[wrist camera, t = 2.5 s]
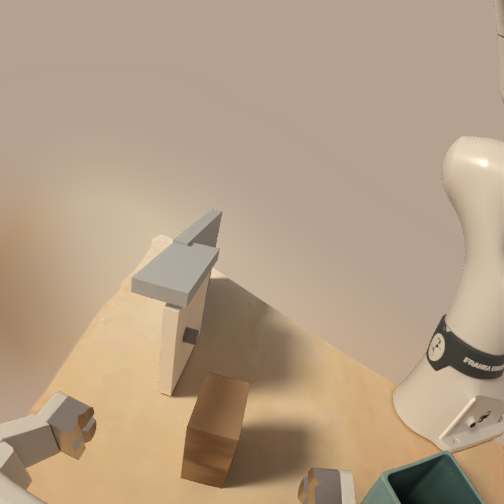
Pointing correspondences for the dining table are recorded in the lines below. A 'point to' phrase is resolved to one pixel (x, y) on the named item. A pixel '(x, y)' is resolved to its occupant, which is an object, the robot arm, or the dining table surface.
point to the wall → (181, 264)
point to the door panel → (179, 338)
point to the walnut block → (214, 430)
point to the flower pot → (425, 484)
